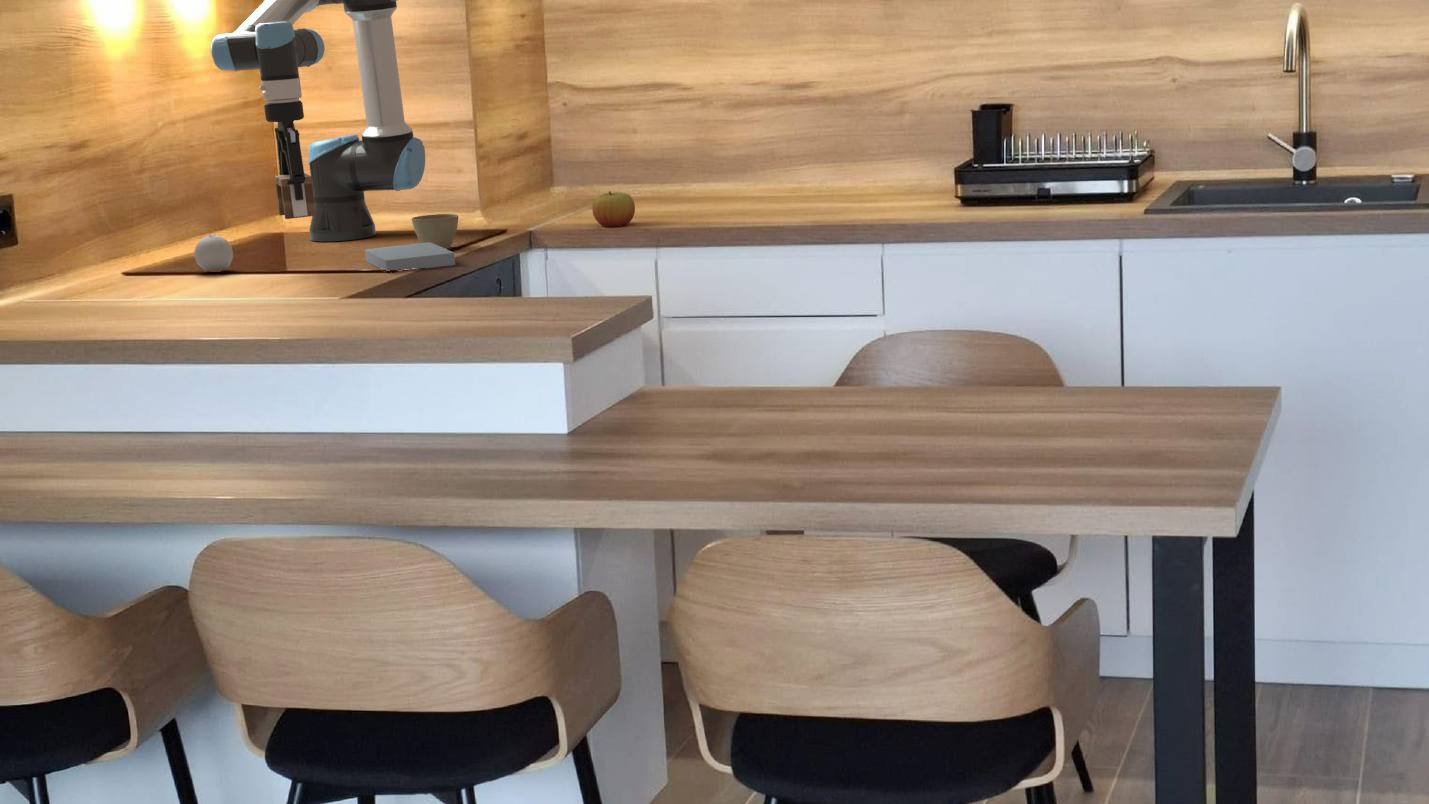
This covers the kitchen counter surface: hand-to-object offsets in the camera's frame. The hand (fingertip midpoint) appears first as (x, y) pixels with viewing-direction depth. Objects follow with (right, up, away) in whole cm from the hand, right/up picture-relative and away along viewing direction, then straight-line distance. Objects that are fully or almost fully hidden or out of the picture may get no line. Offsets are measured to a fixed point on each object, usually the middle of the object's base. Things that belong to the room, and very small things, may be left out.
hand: (296, 213), depth 354 cm
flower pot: (+25, -6, +23) cm, 34 cm away
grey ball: (-19, -12, +9) cm, 24 cm away
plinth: (+22, -10, +5) cm, 25 cm away
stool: (0, 0, 0) cm, 0 cm away
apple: (+62, +2, +45) cm, 77 cm away
